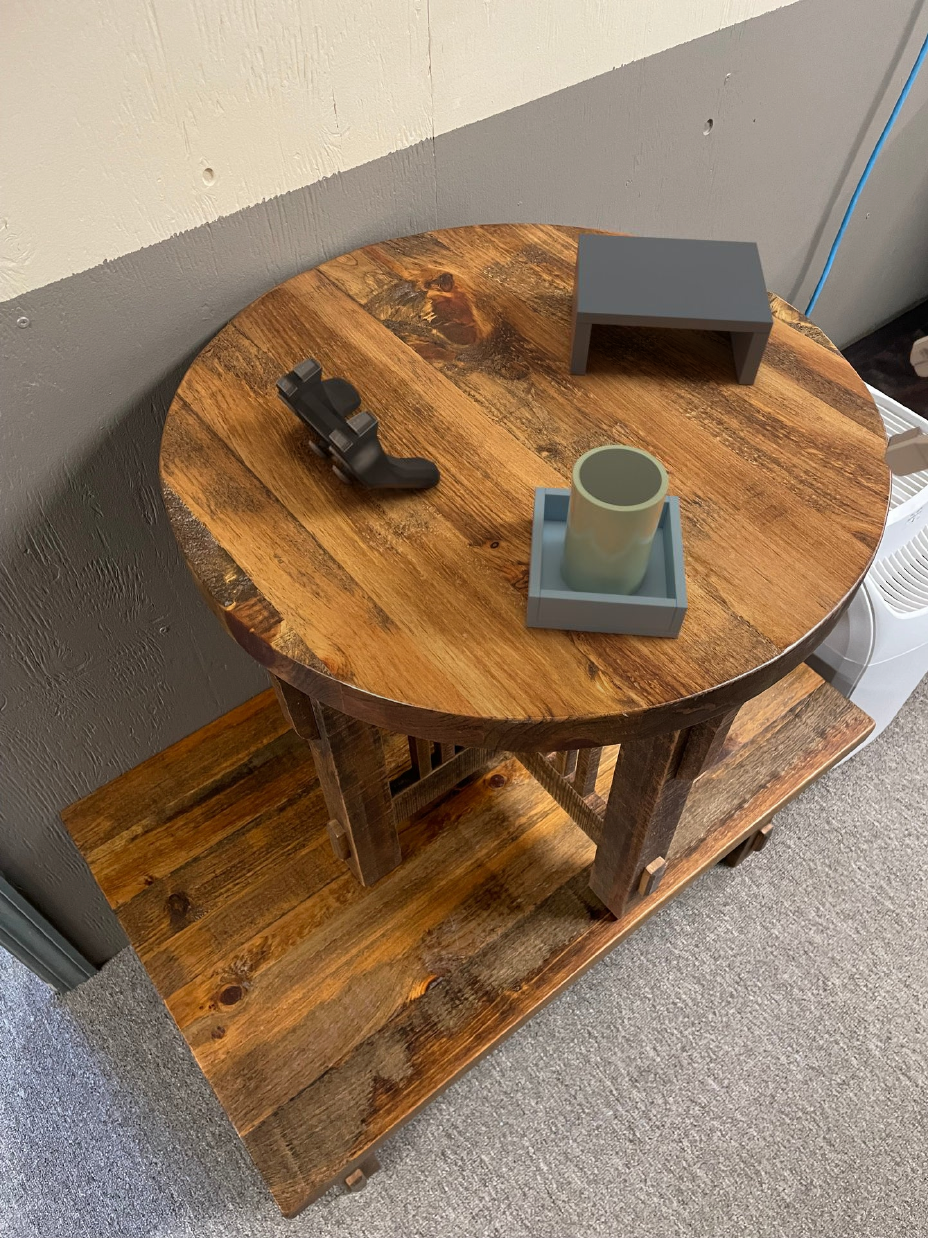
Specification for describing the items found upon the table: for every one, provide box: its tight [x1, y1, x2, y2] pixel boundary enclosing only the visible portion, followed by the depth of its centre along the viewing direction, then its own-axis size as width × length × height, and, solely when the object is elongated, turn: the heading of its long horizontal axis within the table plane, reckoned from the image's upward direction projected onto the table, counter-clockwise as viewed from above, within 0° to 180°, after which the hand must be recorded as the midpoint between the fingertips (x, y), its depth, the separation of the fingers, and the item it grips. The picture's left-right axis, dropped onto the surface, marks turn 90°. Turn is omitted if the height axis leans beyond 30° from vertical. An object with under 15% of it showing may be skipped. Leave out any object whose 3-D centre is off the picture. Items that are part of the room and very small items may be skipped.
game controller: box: [275, 357, 441, 491], centre depth 75 cm, size 16×7×10 cm, turn 37°
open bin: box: [525, 486, 689, 639], centre depth 68 cm, size 12×12×4 cm
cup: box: [560, 444, 670, 596], centre depth 65 cm, size 7×7×10 cm
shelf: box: [569, 233, 775, 386], centre depth 87 cm, size 18×14×7 cm
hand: (903, 407), depth 49 cm, fingers open, 8 cm apart
